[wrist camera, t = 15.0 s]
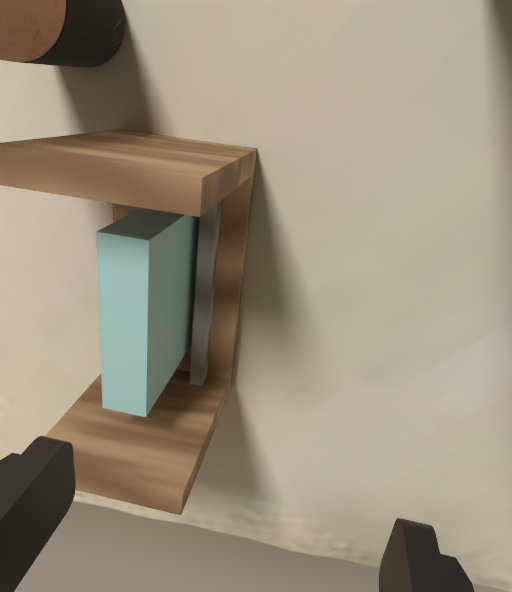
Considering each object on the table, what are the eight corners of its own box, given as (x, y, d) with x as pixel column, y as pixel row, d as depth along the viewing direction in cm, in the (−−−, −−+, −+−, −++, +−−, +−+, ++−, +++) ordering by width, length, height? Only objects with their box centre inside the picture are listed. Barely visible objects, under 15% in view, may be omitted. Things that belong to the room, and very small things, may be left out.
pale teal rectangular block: (160, 198, 38) (96, 231, 28) (199, 204, 38) (149, 240, 28) (156, 339, 44) (102, 407, 34) (190, 345, 43) (145, 417, 33)
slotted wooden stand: (119, 129, 38) (-17, 144, 23) (257, 149, 36) (202, 177, 22) (122, 365, 48) (27, 478, 33) (230, 387, 46) (181, 515, 32)
